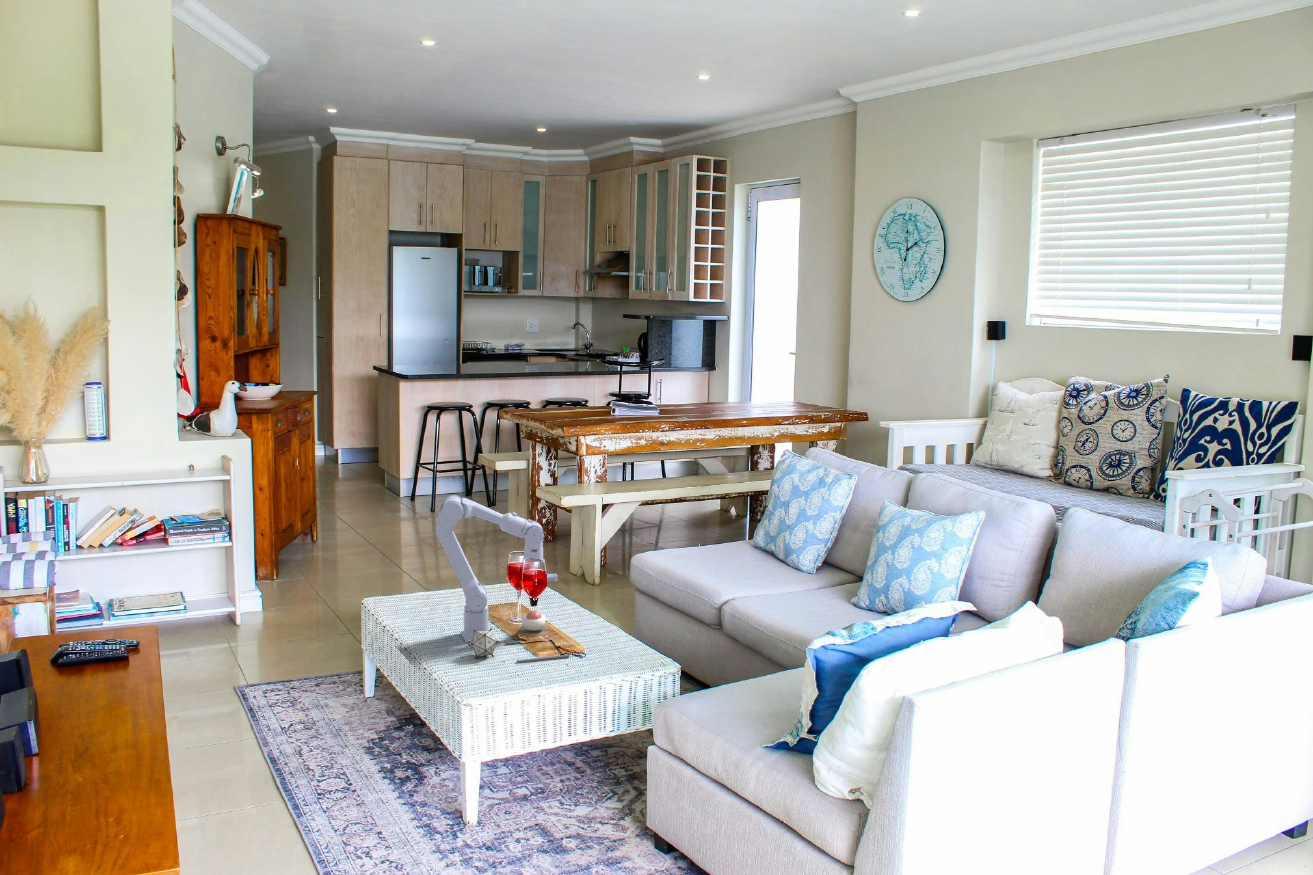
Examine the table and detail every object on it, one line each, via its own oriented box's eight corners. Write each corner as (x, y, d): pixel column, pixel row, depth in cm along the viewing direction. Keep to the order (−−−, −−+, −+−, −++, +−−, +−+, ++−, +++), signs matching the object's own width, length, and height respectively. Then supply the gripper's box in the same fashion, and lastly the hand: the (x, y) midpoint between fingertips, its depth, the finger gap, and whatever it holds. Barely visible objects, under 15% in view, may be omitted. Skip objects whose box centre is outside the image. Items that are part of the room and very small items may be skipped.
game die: (487, 670, 300) (491, 651, 293) (461, 658, 301) (464, 638, 294) (502, 647, 307) (505, 628, 300) (476, 635, 308) (479, 615, 301)
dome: (519, 624, 322) (519, 608, 321) (542, 622, 324) (542, 606, 324) (525, 631, 315) (525, 615, 315) (547, 629, 318) (547, 613, 317)
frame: (505, 644, 312) (505, 642, 312) (554, 639, 317) (554, 637, 317) (517, 663, 296) (517, 661, 296) (568, 657, 301) (568, 655, 301)
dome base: (514, 631, 323) (514, 626, 323) (545, 628, 326) (545, 623, 326) (521, 641, 314) (521, 637, 314) (553, 638, 317) (553, 633, 317)
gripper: (512, 567, 311) (513, 611, 313) (560, 563, 316) (560, 607, 318) (507, 561, 317) (508, 604, 319) (554, 557, 322) (554, 600, 324)
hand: (533, 605), depth 319 cm, fingers closed
